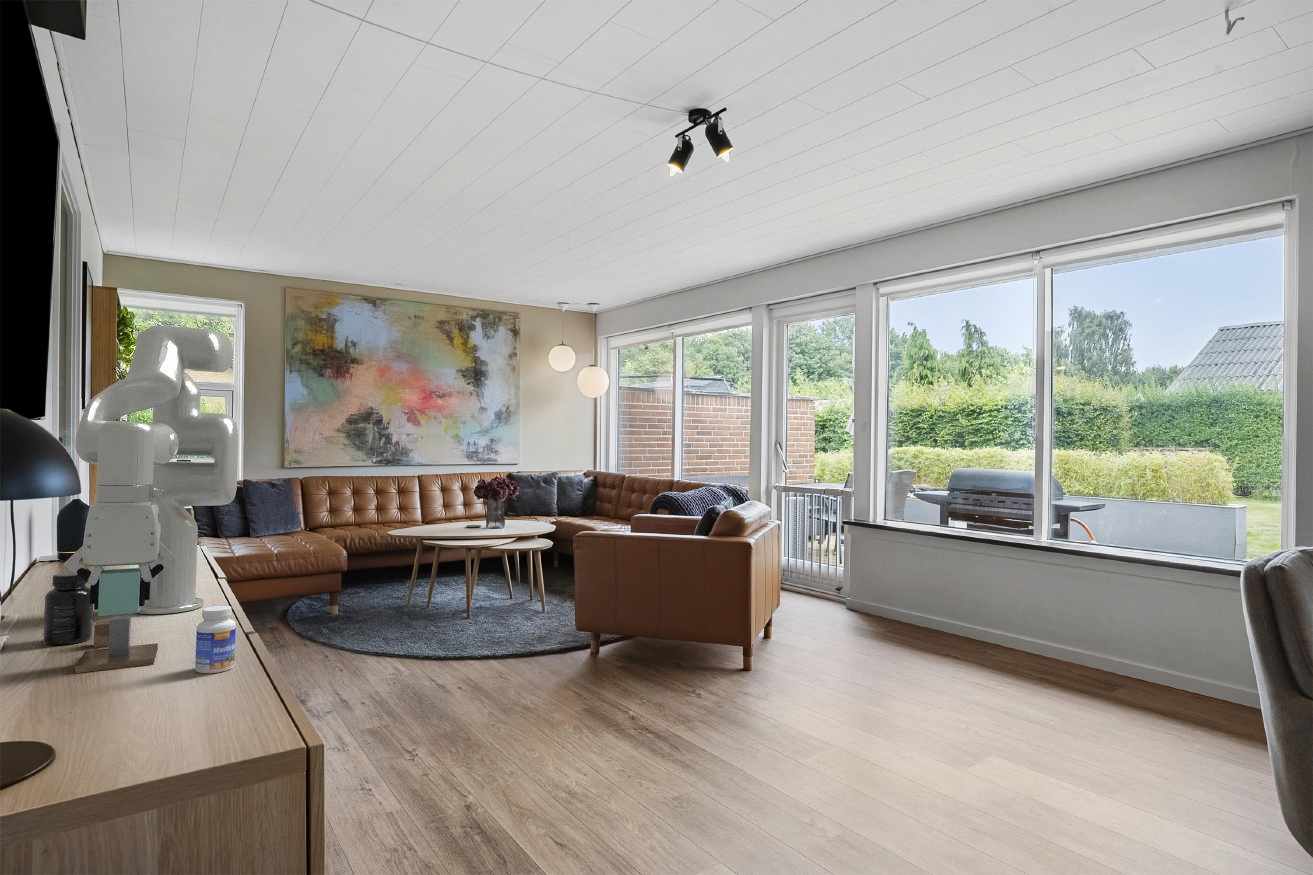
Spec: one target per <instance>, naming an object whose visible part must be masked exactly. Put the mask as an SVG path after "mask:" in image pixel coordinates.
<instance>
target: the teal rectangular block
mask: <svg viewBox="0 0 1313 875" xmlns="http://www.w3.org/2000/svg"><path fill="white" fill-rule="evenodd" d="M141 578H142V574H141V571H140V568H139V567H133V568H113V569H112V568H111V569H103V571H102V572H101V573H100V576H99V600H98V610H97V617H101V616H102V617H103V616H104V617H105V616H113V615H127V614H128V615H129V614H139V613H138V612H139V610H140V608H141V606H139V591H140V582H141Z"/></svg>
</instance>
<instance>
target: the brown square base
mask: <svg viewBox="0 0 1313 875" xmlns="http://www.w3.org/2000/svg"><path fill="white" fill-rule="evenodd" d="M109 620H110V623H109V647H105V648H95V649H89V650H84V652H83V654H82V656H80V659H79V660H78V662H77V663H76V665H75V666H74V670H75V671H74V674H79V673H80V674H81V673H82V674H83V673H88V672H98V671H99V672H100V671H108V670H109V671H110V670H116V669H124V668H133V667H134V666H135V667H143V666H142V665H144V666H151V665H152V664H153V665H155V661H156V657H157V654H158V650H159V643H148V644H147V643H146V644H139V645H138V644H137V645H131V631H132V629H131V625H132V624H131V623H132V615H129V614H128V615H119V616H111V617H110V619H109Z"/></svg>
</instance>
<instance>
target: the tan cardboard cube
mask: <svg viewBox="0 0 1313 875" xmlns="http://www.w3.org/2000/svg"><path fill="white" fill-rule="evenodd" d="M109 623H110V619H107V620H106V619H105V620H97V621H96V622H95V624H94V625H93V626H94V627H93V628H94V629H93V631H94V632H93V633H94V634H93V649H100V648H109Z"/></svg>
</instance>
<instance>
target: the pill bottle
mask: <svg viewBox="0 0 1313 875" xmlns="http://www.w3.org/2000/svg"><path fill="white" fill-rule="evenodd" d="M232 615H233V614H232V606H230V605H216V606H215V605H214V606H213V605H212V606H208V607H203V609H202V612H201V617H202V619H203V621H201V622H200V623H199V624H198V625H197V626H196V634H195V635H196V636H195V638H196V639H195V660H194V661H195V663H194V664H195V665H194V667H195V671H196V673H200V674H217V673H222V672H227V671H229V670H232V669H233V668H234V666H235V664H236V663H235V662H236V660H235V659H236V632H237V631H236V630H237V624H236V622H235V620H233V619H230V617H231V616H232Z"/></svg>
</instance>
